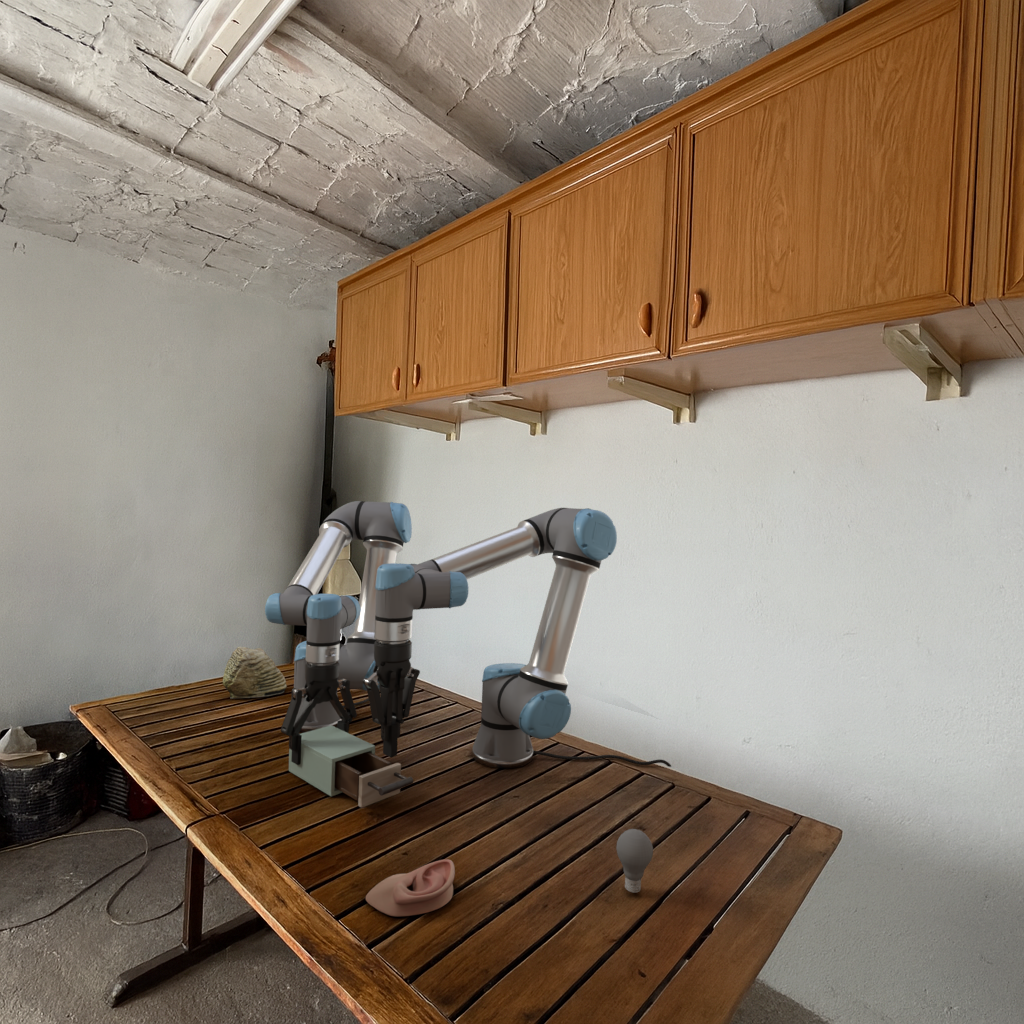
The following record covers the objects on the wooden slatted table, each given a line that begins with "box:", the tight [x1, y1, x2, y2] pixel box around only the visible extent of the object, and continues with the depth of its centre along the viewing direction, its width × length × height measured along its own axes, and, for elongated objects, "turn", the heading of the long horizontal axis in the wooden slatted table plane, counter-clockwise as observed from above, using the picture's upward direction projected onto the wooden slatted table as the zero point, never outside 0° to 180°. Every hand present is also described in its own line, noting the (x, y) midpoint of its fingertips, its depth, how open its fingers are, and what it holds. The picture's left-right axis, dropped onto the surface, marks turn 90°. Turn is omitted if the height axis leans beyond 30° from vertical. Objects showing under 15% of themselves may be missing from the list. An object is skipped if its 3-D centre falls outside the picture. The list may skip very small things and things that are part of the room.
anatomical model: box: [365, 858, 456, 918], centre depth 102 cm, size 13×4×12 cm
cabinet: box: [288, 725, 376, 797], centre depth 144 cm, size 18×11×8 cm, turn 48°
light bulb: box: [615, 828, 654, 894], centre depth 106 cm, size 6×6×10 cm
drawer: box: [335, 752, 414, 809], centre depth 135 cm, size 22×10×6 cm, turn 48°
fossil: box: [222, 646, 288, 699], centre depth 198 cm, size 9×18×15 cm, turn 132°
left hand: (319, 755), depth 147 cm, fingers closed on cabinet, 11 cm apart
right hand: (389, 754), depth 129 cm, fingers closed
